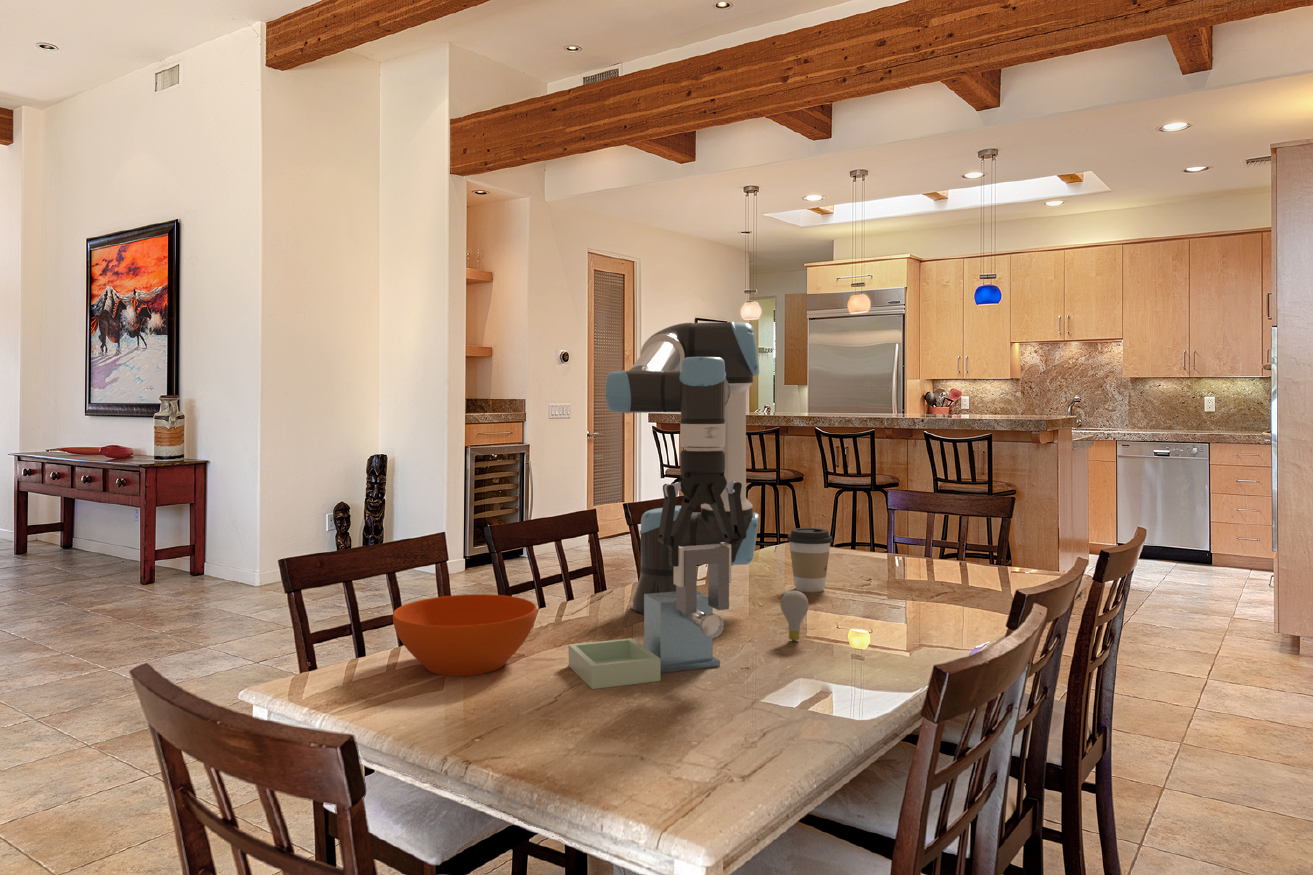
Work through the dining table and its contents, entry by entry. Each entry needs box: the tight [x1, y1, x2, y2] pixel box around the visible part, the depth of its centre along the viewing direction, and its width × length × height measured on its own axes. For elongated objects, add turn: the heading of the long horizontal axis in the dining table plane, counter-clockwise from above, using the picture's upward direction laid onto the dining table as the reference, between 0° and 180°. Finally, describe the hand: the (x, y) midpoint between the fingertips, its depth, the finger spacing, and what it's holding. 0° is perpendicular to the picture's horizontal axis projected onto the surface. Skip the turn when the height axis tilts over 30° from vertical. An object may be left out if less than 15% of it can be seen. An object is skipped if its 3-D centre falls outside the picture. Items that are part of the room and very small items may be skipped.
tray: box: [568, 637, 661, 690], centre depth 154 cm, size 14×12×4 cm
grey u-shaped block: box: [676, 544, 730, 614], centre depth 151 cm, size 4×8×10 cm, turn 112°
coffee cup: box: [787, 527, 834, 593], centre depth 225 cm, size 11×11×15 cm
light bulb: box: [780, 589, 810, 642], centre depth 175 cm, size 6×6×10 cm
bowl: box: [392, 593, 538, 677], centre depth 159 cm, size 25×25×10 cm
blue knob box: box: [643, 591, 725, 674], centre depth 156 cm, size 20×12×12 cm, turn 22°
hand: (702, 583), depth 151 cm, fingers closed on grey u-shaped block, 8 cm apart
